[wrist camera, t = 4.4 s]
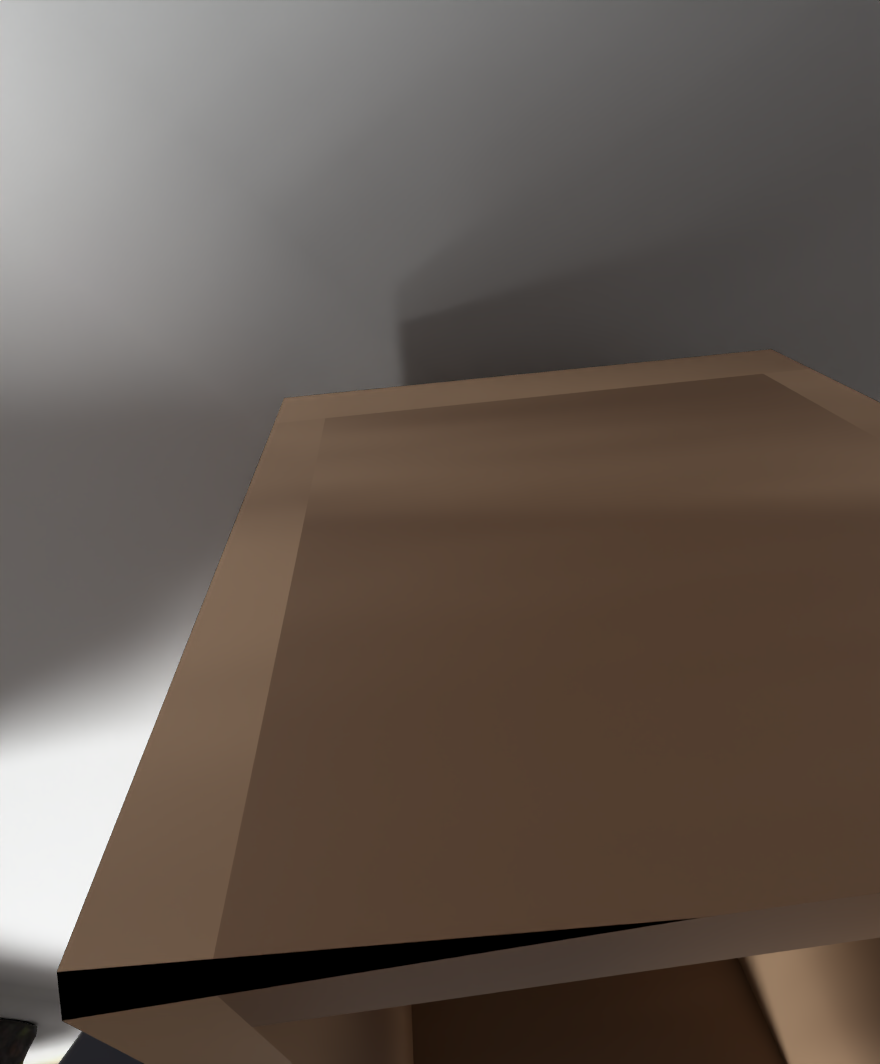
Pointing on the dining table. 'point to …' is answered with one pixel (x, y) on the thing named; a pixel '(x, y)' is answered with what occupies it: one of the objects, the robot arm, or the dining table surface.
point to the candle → (15, 1040)
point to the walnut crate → (519, 738)
